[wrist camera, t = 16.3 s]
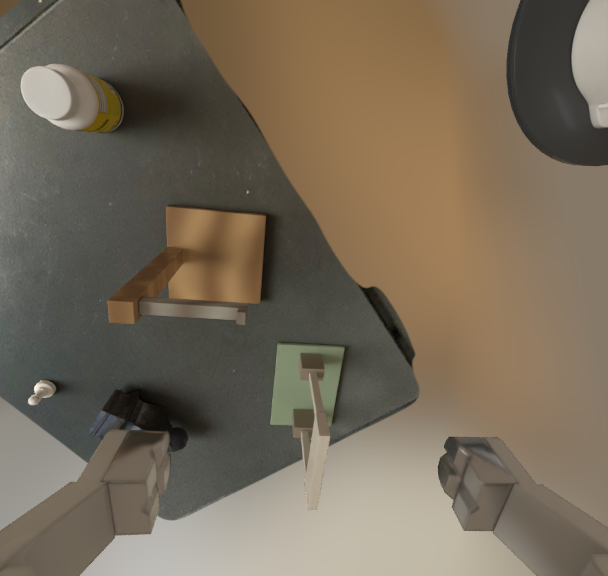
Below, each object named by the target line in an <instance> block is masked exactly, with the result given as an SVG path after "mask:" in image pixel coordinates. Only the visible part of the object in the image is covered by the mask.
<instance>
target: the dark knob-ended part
mask: <svg viewBox="0 0 608 576" xmlns="http://www.w3.org/2000/svg"><path fill="white" fill-rule="evenodd" d="M139 392H140V389H138V390H136V391H134V392H132V393H130V394H125V393H123V392H122V390H116V389H115V391H114V393H113V394H112V395H111V397H110V399H109V400H108V402H107V403H106V404H105V406H104V408H103V409H102V411H101V412H100V414H99V416H98V417H97V418H96V420H95V421H94V423H93V425H92V426H91V428H90V429H89V431H88V433H90V434H91V437H93V436H94V435H95V436H97V437H100V438H101V440H103V438H104V436H105V435H106V434H107V433H108V432H109V431H110V430H111V429H114V430H145V431H167V432H169V437H170V443H169V446H168V449H167V451H168V452H169V451H172V452H175V451H179V450H180V449H183V448H184V447H185V446H186V444H187V442H188V435H187V432H186V431H185V430H184V429H182V428H179V427H177V428H173V427H172V425H171V424H170V423H169V421H168V419H167V417H166V413H165V410H164V407H162V406H157V405H153V404H148V403H143V401H141V400H139V397H138V395H139Z"/></svg>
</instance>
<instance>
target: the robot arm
mask: <svg viewBox="0 0 608 576" xmlns="http://www.w3.org/2000/svg"><path fill="white" fill-rule="evenodd" d="M571 61H572V71H573V76H574V80H575V83H576V85H577V87H578V89H579V91H580V92H581V94H582V95H583V97H584V98H585V99H586V101H587V103H588V105H589V113H590V119H591V122H592V125H593V126H594V127H595V128H597V129H602V128H608V0H590V1H589V2H588V4H587V6H586V7H585V9H584V11H583V13H582V15H581V18H580V20H579V23H578V25H577V28H576V32H575V35H574V40H573V45H572V55H571ZM169 443H170V437H169V432H167V431H145V430H114V429H111V430H110V431H109V432H108V433H107V434H106V435H105V436H104V438H103V440H102V441H101V443H100V445H99V446H98V448H97V450H96V451H95V453H94V454H93V456H92V458H91V459H90V461H89V463H88V464H87V466H86V468H85V469H84V471H83V472H82V474H81V476H80V477H79V479H78V481H77V482H70V483H69V484H67V485H66V486H64V487H63V488H61V489H60V490H58V491H57V492H55V493H54V494H53V495H51V496H50V497H48V498H47V499H45V500H44V501H43V502H41V503H40V504H38V505H37V506H35V507H34V508H33V509H31V510H30V511H28V512H27V513H25V514H24V515H22V516H21V517H20V518H18V519H17V520H15V521H14V522H12V523H11V524H9V525H8V526H7V527H5V528H4V529H2V530H1V531H0V576H79V575H80V574H81V573H82V572H83V571H84V570H85V569H86V568H87V567H88V566H89V565H90V564H91V563H92V562H93V561H94V559H95V558H96V557H97V556H98V555H99V554H100V553H101V552H102V551H103V550H104V549H105V548H106V547H107V546H108V544H109V543H110V542H111V541H112V540H113V539H114V538H115V535H137V534H151V532H152V529H153V526H154V523H155V520H156V517H157V514H158V511H159V497H160V496H161V495H162V494H163V493H164V492H165V490H166V487H167V483H168V479H169V474H170V467H171V454H170V453H169V452H168V451H167V449H168V446H169ZM444 448H445V450H446V451H447V453H446V454H444V455H443V456H442V457H441V458H440V461H439V465H438V475H439V480H440V483H441V485H442V488H443V490H444V492H445V493H446V494H447V495H449V496H450V497H451V498H452V499H453V505H452V508H453V510H454V512H455V514H456V516H457V518H458V520H459V522H460V524H461V526H462V528H463V530H464V531H493V534H495V536H497V537H498V538H499V539H500V540H501V541H502V542H503V543H504V544H505V545H506V546H507V547H508V548H509V549H510V550H511V551H512V552H513V553H514V554H515V555H516V556H517V557H518V558H519V559H520V560H521V561H522V562H523V563H524V564H525V565H526V566H527V567H528V568H529V569H530V570H531V571H532V572H533V573H534V574H535V575H536V576H608V527H606V526H605V525H603V524H602V523H600V522H599V521H597V520H595V519H594V518H593V517H591V516H590V515H588V514H587V513H585V512H583V511H582V510H580V509H579V508H577V507H576V506H574V505H573V504H571V503H570V502H568V501H567V500H565V499H564V498H562V497H561V496H559V495H558V494H556V493H555V492H553V491H551V490H550V489H548V488H547V487H545V486H544V485H542V484H536V482H535V481H534V480H533V479H532V478H531V476H530V475H529V474H528V472H527V471H526V470H525V468H524V467H523V466H522V465H521V463H520V462H519V461H518V460H517V458H516V457H515V456H514V455H513V453H512V452H511V451H510V450H509V448H508V447H507V446H506V445H505V443H504V442H503V441H502V440H501V439H499V438H498V437H449V438H448V439H447V440H446V442H445V445H444Z"/></svg>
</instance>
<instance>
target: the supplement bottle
mask: <svg viewBox="0 0 608 576" xmlns="http://www.w3.org/2000/svg"><path fill="white" fill-rule="evenodd" d="M21 92H22V95H23V98H24V100H25V102H26V103H27V105H28V106H29V107H30V108H31V109H32V110H33V111H34V112H35V113H36V114H38V115H39V116H41V117H43V118H46V119H48V120H49V121H50V122H52V123H53V124H55V125H57V126H59V127H61V128H64V129H69V130H77V131H88V132H98V133H106V132H111V131H113V130H115V129H116V128H117V127H118V126H119V125H120V124H121V122H122V119H123V115H124V108H123V103H122V100H121V98H120V96H119V94H118V93H117V91H116V90H115V89H114V88H113V87H112V86H111V85H110V84H108V83H107V82H105V81H104V80H101V79H99V78H97V77H95V76H92V75H89V74H87V73H84V72H82V71H79V70H77V69H75V68H72V67H70V66H67V65H63V64H50V65H47V66H45V67H44V66H36V67H32V68H30V69H29V70H27V71H26V72H25V73H24V75H23V77H22V80H21Z"/></svg>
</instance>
